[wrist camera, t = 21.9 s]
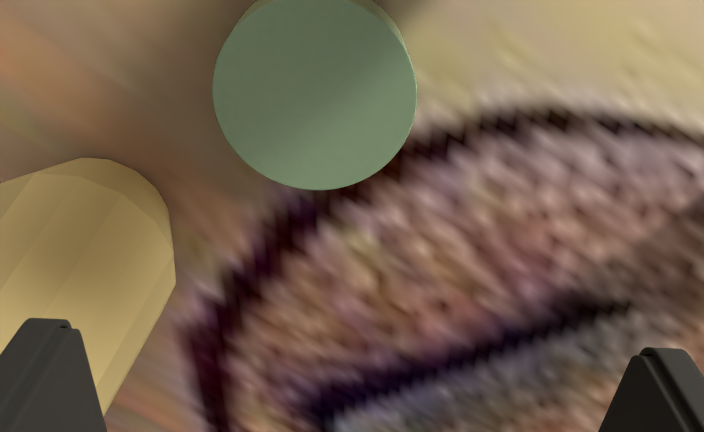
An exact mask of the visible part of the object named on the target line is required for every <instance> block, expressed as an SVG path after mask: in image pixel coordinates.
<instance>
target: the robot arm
mask: <svg viewBox="0 0 704 432" xmlns="http://www.w3.org/2000/svg"><path fill="white" fill-rule="evenodd" d="M0 432H107V429H106V425H105V421H104V418H103V414H102V410H101V406H100V403H99V399H98V395H97V391H96V387H95V384H94V380H93V376H92V372H91V369H90V365H89V361H88V357H87V353H86V350H85V346H84V342H83V338H82V335H81V332H80V330H79V329H73V328H72V326H71V324H70V322H69V321H68V320H66V319H49V318H29V319H27V320H26V321H25V322H24V323H23V324H22V325H21V326H20V328H19V329H18V331H17V332H16V333H15V335H14V336H13V338H12V339H11V340H10V342H9V343H8V345H7V346H6V347H5V349H4V350H3V352H2V353H1V354H0ZM598 432H704V377H703V375H702V374H701V372H700V371H699V369H698V368H697V366H696V365H695V363H694V362H693V360H692V359H691V357H690V356H689V355H688V353H687V352H686V351H684V350H682V349H672V348H651V347H646V348H644V349H643V350H642V351H641V353H640V354H639V356H638V355H635V356H633V357H632V358H631V360H630V362H629V364H628V366H627V368H626V371H625V373H624V375H623V377H622V380H621V382H620V384H619V386H618V389H617V391H616V393H615V395H614V398H613V400H612V402H611V404H610V407H609V409H608V411H607V413H606V415H605V418H604V420H603V422H602V424H601V427H600V429H599V431H598Z"/></svg>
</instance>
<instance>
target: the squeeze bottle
mask: <svg viewBox="0 0 704 432" xmlns="http://www.w3.org/2000/svg"><path fill="white" fill-rule="evenodd" d="M175 284H176V277H175V265H174V253H173V244H172V236H171V227H170V218H169V210H168V208H167V206H166V204H165V203H164V201H163V199H162V197H161V195H160V194H159V192H158V190H157V188H155V187H154V186H153V185H152V184H151V183H150V182H148V181H147V180H146V179H145V178H144V177H143V176H141V175H140V174H139V173H138V172H137V171H135V170H133V169H131V168H128V167H126V166H123V165H121V164H119V163H116V162H114V161H112V160H108V159H96V158H84V157H81V158H78V159H75V160H71V161H68V162H64V163H61V164H58V165H55V166H52V167H48V168H45V169H42V170H39V171H36V172H33V173H30V174H27V175H24V176H21V177H18V178H15V179H12V180H8V181H5V182H2V183H0V354H1V353H2V352H3V350H4V349H5V347H6V346H7V345H8V343H9V342H10V340H11V339H12V338H13V336H14V335H15V333H16V332H17V331H18V329H19V328H20V326H21V325H22V324H23V323H24V322H25V321H26V320H27V319H29V318H49V319H66V320H68V321H69V322H70V324H71V326H72V328H73V329H79V330H80V332H81V335H82V338H83V342H84V346H85V350H86V353H87V357H88V361H89V365H90V369H91V372H92V376H93V380H94V384H95V387H96V391H97V395H98V399H99V403H100V406H101V410H102V414H103V417H104V415H105V413H106V411H107V410H108V408H109V406H110V404H111V402H112V401H113V399H114V397H115V395H116V394H117V392H118V390H119V388H120V386H121V385H122V383H123V381H124V379H125V377H126V376H127V374H128V372H129V370H130V368H131V367H132V365H133V363H134V361H135V360H136V358H137V356H138V354H139V352H140V351H141V349H142V347H143V345H144V343H145V342H146V340H147V338H148V336H149V334H150V333H151V331H152V329H153V327H154V326H155V324H156V322H157V320H158V318H159V317H160V315H161V313H162V311H163V309H164V307H165V305H166V303H167V301H168V299H169V297H170V295H171V293H172V291H173V289H174V286H175Z"/></svg>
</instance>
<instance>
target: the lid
mask: <svg viewBox="0 0 704 432" xmlns="http://www.w3.org/2000/svg"><path fill="white" fill-rule="evenodd" d="M215 64H216V65H215V68H214V74H213V80H212V97H213V105H214V110H215V114H216V118H217V121H218V123H219V126H220V128H221V131H222V133H223V134H224V136H225V138H226V140H227V141H228V143H229V144H230V146H231V147H232V148H233V150H234V151H235V152H236V153H237V154H238V156H239V157H240V158H241V159H242V160H243V161H244V162H245V163H247V164H248V165H249V166H250V167H251V168H253V169H254V170H255V171H257V172H259V173H260V174H262V175H263V176H265V177H267V178H269V179H271V180H273V181H275V182H278V183H280V184H283V185H286V186H290V187H294V188H298V189H306V190H329V189H337V188H341V187H345V186H349V185H352V184H355V183H357V182H360V181H362V180H364V179H366V178H368V177H370V176H371V175H373V174H374V173H376V172H377V171H379V170H380V169H381V168H382V167H384V166H385V165H386V164H387V163H388V162H389V161H390V160H391V159H392V158H393V157H394V156H395V155H396V154H397V152H398V151H399V149H400V148H401V147H402V145H403V144H404V142H405V140H406V138H407V136H408V134H409V133H410V130H411V127H412V124H413V122H414V117H415V113H416V108H417V82H416V77H415V72H414V68H413V65H412V62H411V59H410V56H409V53H408V50H407V47H406V45H405V42H404V39H403V37H402V35H401V33H400V31H399V29H398V28H397V26H396V25H395V23H394V22H393V20H392V19H391V17H390V16H389V15H388V14H387V13H386V12H385V11H384V10H383V9H382V8H381V7H380V6H379V5H378V4H376V3H375V2H374V1H373V0H257V1H256V2H255V3H254V4H253V5H251V6H250V7H249V8H248V9H247V11H246V12H245V13H244V14H243V15H242V16H241V18H240V19H239V21H238V22H237V24H236V25H235V27H234V28H233V30H232V31H231V33H230V35H229V36H228V38H227V40H226V41H225V43H224V45H223V47H222V49H221V51H220V53H219V55H218V58H217V60H216V62H215Z"/></svg>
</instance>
